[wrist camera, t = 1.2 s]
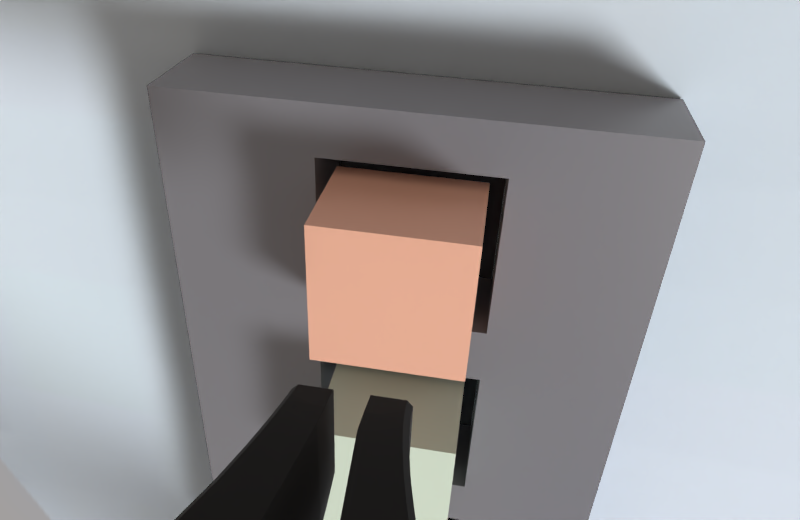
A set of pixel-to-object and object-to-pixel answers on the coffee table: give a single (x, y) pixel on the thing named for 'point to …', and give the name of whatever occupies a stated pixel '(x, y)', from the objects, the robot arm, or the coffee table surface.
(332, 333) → the terracotta key
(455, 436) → the sage key
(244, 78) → the grey slotted board
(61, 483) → the coffee table surface
